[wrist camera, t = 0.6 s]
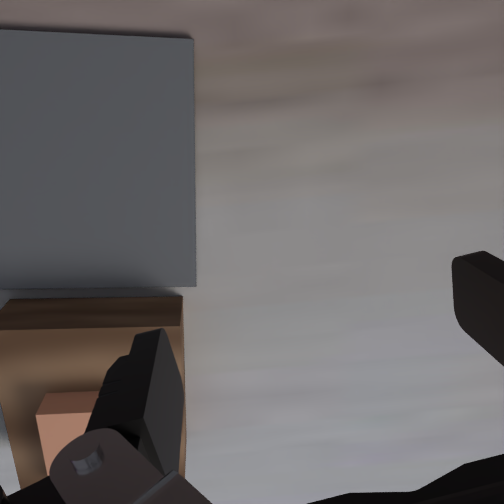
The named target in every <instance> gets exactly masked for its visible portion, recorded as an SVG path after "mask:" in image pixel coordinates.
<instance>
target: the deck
mask: <svg viewBox="0 0 504 504" xmlns="http://www.w3.org/2000/svg"><path fill="white" fill-rule="evenodd" d="M159 328H164V329H165V331H166V333H167V336H168V339H169V342H170V345H171V348H172V351H173V354H174V357H175V360H176V363H177V366H178V369H179V372H180V375H181V379H182V383H183V389H184V406H183V420H182V433H181V446H180V460H179V474H180V475H181V476H182V477H184V478H185V461H186V405H185V366H184V327H183V296H178V297H114V298H50V299H10V300H9V301H8V302H7V303H6V304H5V306H4V307H3V308H2V309H1V310H0V403H1V407H2V411H3V416H4V420H5V424H6V428H7V433H8V437H9V441H10V445H11V450H12V454H13V458H14V462H15V467H16V471H17V475H18V479H19V484H20V488H21V489H23V488H25V487H27V486H29V485H32V484H34V483H36V482H38V481H40V480H42V479H43V478H45V477H47V476H48V475H47V470H46V465H45V460H44V455H43V450H42V445H41V440H40V435H39V430H38V425H37V420H36V413H37V411H38V409H39V407H40V405H41V403H42V401H43V398H44V396H45V394H46V393H63V392H88V391H100V389H101V387H102V386H103V384H102V383H103V381H104V378H105V375H106V372H107V370H108V369H109V368H110V367H111V366H112V364H113V363H114V362H115V361H116V360H117V359H118V358H119V357H121V356H125V355H129V353H130V350H131V346H132V343H133V340H134V336H135V335H136V334H139V333H143V332H147V331H151V330H155V329H159Z"/></svg>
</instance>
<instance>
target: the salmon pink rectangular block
mask: <svg viewBox="0 0 504 504" xmlns="http://www.w3.org/2000/svg"><path fill="white" fill-rule="evenodd" d="M99 392H100V391H88V392H63V393H46V394H45V396H44V398H43V401H42V403H41V405H40V407H39V409H38V411H37V413H36V420H37V425H38V430H39V435H40V440H41V445H42V450H43V455H44V460H45V465H46V470H47V475H48V476H49V471H50V466H51V464H52V462H53V460H54V458H55V457H56V455H57V454H58V453H59V452H60V451H61V450H62V449H63V448H64V447H65V446H66V445H67V444H68V443H70V442H71V441H72V440H74V439H75V438H77V437H79V436H80V435H82V434H84V432H85V430H86V427H87V424H88V421H89V419H90V416H91V413H92V411H93V408H94V405H95V402H96V400H97V398H99V396H98V394H99Z"/></svg>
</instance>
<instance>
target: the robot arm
mask: <svg viewBox="0 0 504 504" xmlns="http://www.w3.org/2000/svg"><path fill="white" fill-rule="evenodd" d="M452 283H453V299H454V311H455V315H456V318H457V321H458V323H459V325H460V326H461V328H462V329H463V330H464V331H465V332H466V333H467V334H468V335H469V336H470V337H471V338H473V339H474V340H475V341H476V342H477V343H478V344H479V345H480V346H481V347H483V348H484V349H485V350H486V351H487V352H488V353H489V354H490V355H492V356H493V357H494V358H495V359H496V360H497V361H498V362H499V363H500V364H502V365H503V366H504V261H503V260H501V259H499V258H497V257H495V256H493V255H492V254H490V253H488V252H486V251H479V252H475V253H471V254H467V255H463V256H458V257H455V258H454V259H453V261H452ZM102 384H103V386H102V387H101V389H100V392H99V394H98V396H99V398H97V400H96V402H95V405H94V408H93V411H92V413H91V416H90V419H89V421H88V424H87V427H86V430H85V432H84V434H82V435H80V436H79V437H77V438H75V439H74V440H72V441H71V442H70V443H68V444H67V445H66V446H65V447H64V448H63V449H62V450H61V451H60V452H59V453H58V454H57V455H56V457H55V458H54V460H53V462H52V464H51V466H50V471H49V476H47V477H45V478H43V479H42V480H40V481H38V482H36V483H34V484H32V485H29V486H27V487H25V488H23V489H21V490H19V491H17V492H15V493H13V494H11V495H9V496H6V494H5V492H4V491H3V489H2V487H1V486H0V504H212V503H211V502H210V501H209V500H208V499H207V498H205V497H204V496H203V495H202V494H201V493H200V492H199V491H198V490H197V489H196V488H194V487H193V486H192V485H191V484H190V483H189V482H188V481H187V480H186V479H185V478H184V477H182V476H181V475H180V474H179V460H180V446H181V433H182V420H183V406H184V389H183V383H182V379H181V375H180V372H179V369H178V366H177V363H176V360H175V357H174V354H173V351H172V348H171V345H170V342H169V339H168V336H167V333H166V331H165V329H164V328H159V329H155V330H151V331H147V332H143V333H139V334H136V335H135V336H134V340H133V343H132V346H131V350H130V353H129V355H125V356H121V357H119V358H118V359H117V360H116V361H115V362H114V363H113V364H112V366H111V367H110V368H109V369H108V370H107V372H106V375H105V378H104V381H103V383H102ZM308 504H504V454H502V455H498V456H494V457H490V458H486V459H482V460H478V461H474V462H470V463H466V464H463V465H462V466H460V467H458V468H456V469H454V470H453V471H451V472H449V473H447V474H445V475H444V476H442V477H440V478H438V479H437V480H435V481H433V482H431V483H429V484H428V485H426V486H424V487H422V488H420V489H418V490H416V491H412V492H372V493H347V494H343V495H339V496H335V497H332V498H328V499H324V500H320V501H316V502H312V503H308Z"/></svg>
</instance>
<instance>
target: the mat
mask: <svg viewBox="0 0 504 504" xmlns="http://www.w3.org/2000/svg"><path fill="white" fill-rule="evenodd" d="M129 287H196V211H195V125H194V39H182V38H162V37H142V36H122V35H102V34H82V33H62V32H42V31H22V30H2V29H0V289H53V288H129Z"/></svg>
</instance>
